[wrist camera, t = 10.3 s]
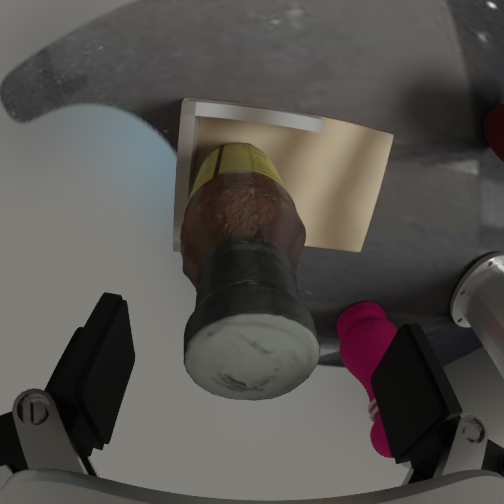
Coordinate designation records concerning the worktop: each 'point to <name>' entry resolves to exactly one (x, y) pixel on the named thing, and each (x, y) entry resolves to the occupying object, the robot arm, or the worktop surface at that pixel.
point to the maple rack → (292, 164)
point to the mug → (495, 130)
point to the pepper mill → (367, 356)
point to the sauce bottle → (245, 279)
